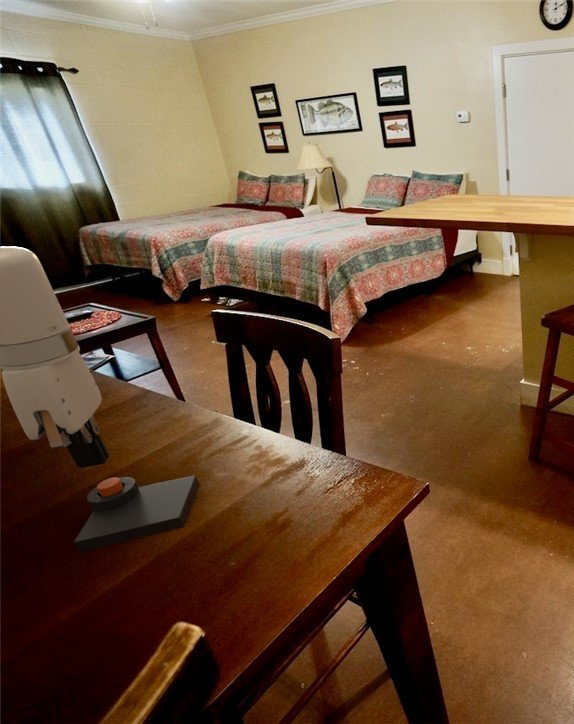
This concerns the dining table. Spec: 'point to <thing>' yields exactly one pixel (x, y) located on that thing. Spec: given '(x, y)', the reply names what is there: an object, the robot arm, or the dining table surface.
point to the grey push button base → (136, 511)
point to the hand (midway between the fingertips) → (94, 462)
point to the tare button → (109, 487)
